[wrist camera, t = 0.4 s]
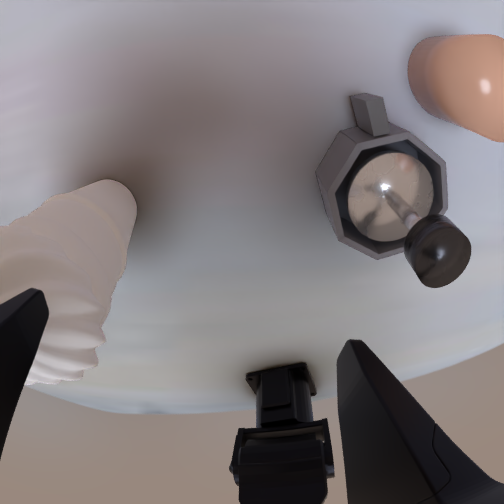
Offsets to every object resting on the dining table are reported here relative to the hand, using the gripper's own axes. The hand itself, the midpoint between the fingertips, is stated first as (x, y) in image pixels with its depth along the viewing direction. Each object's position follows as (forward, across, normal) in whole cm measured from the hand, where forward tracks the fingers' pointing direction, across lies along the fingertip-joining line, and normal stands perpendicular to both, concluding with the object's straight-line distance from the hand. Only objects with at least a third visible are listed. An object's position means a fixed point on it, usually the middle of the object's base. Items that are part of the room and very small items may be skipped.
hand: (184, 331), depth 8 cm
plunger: (+11, -10, -2) cm, 14 cm away
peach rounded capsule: (+13, -13, -10) cm, 21 cm away
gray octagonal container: (+13, -9, -3) cm, 16 cm away
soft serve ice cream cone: (+14, +8, +3) cm, 16 cm away
